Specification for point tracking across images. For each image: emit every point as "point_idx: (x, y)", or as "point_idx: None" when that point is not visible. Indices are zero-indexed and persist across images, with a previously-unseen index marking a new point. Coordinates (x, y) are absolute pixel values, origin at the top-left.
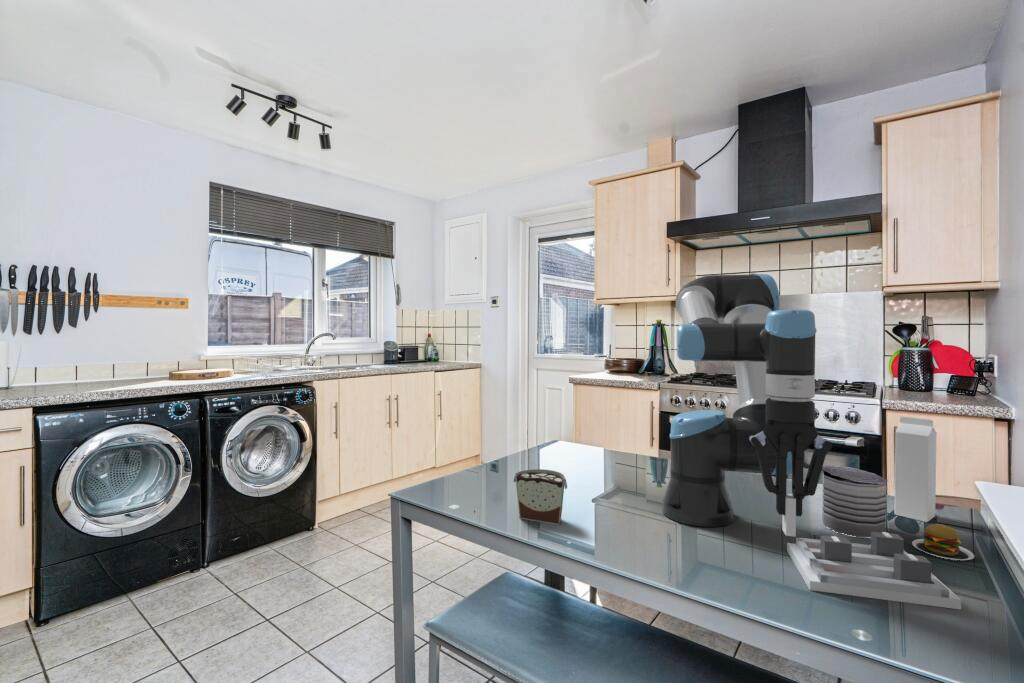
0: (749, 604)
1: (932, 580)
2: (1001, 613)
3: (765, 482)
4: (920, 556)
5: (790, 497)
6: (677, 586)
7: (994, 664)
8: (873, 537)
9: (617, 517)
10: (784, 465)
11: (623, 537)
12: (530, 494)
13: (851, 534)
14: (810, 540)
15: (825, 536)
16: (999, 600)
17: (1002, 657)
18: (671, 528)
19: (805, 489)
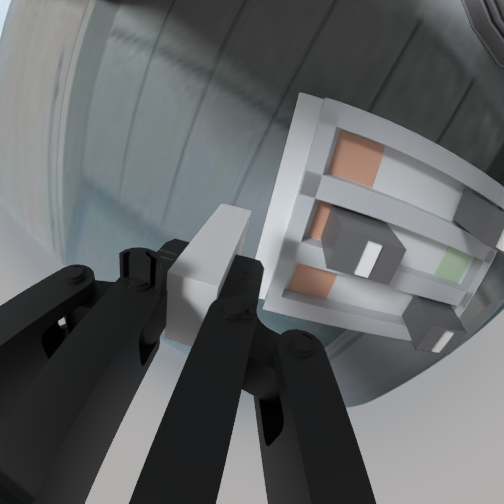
0: None
1: None
2: (470, 330)
3: (50, 341)
4: (462, 333)
5: (188, 331)
6: (63, 263)
7: (356, 400)
8: (483, 220)
9: (19, 25)
10: (81, 476)
11: (10, 107)
12: None
13: (493, 53)
14: (359, 123)
15: (354, 235)
16: (499, 302)
17: (376, 393)
18: (73, 27)
19: (253, 390)
